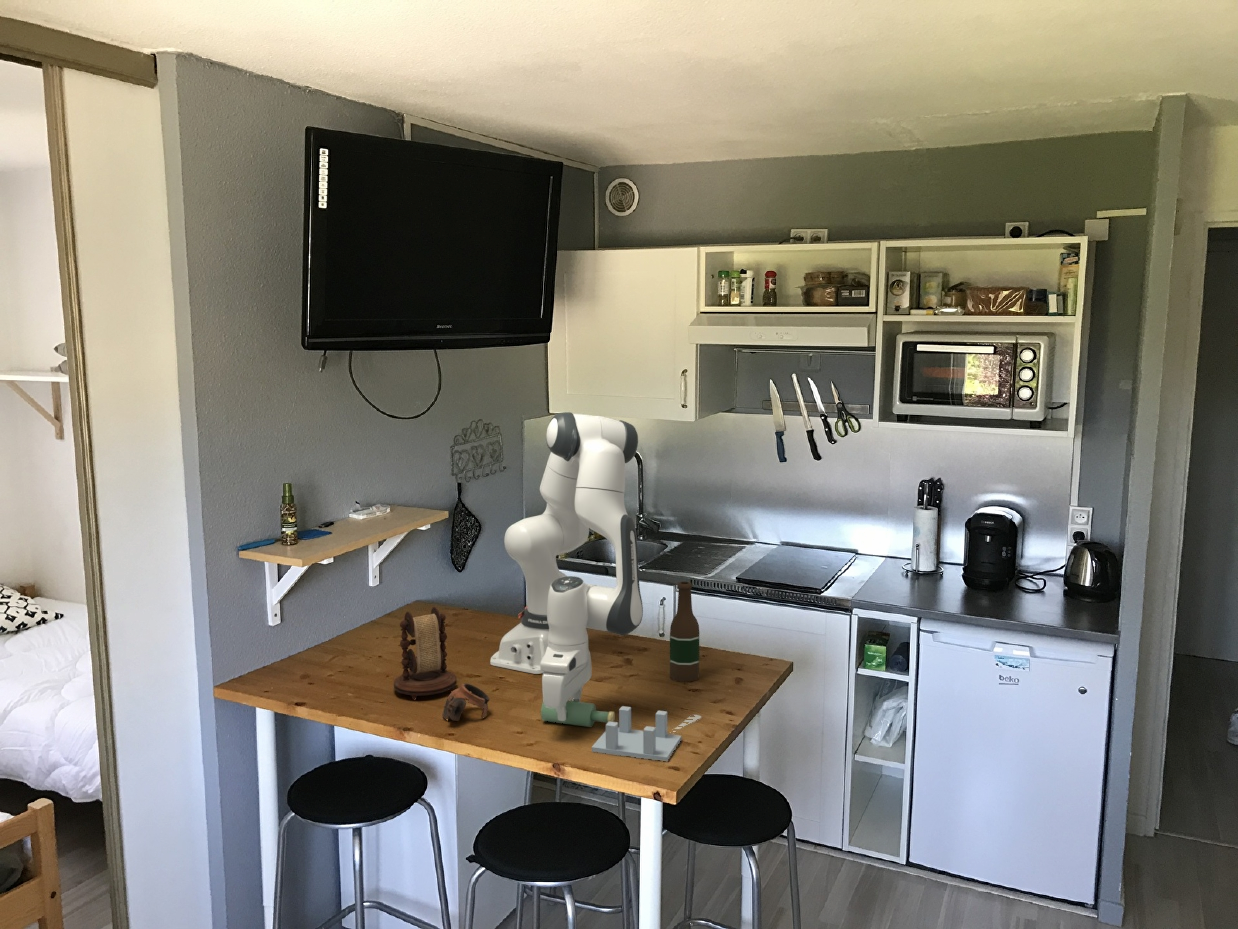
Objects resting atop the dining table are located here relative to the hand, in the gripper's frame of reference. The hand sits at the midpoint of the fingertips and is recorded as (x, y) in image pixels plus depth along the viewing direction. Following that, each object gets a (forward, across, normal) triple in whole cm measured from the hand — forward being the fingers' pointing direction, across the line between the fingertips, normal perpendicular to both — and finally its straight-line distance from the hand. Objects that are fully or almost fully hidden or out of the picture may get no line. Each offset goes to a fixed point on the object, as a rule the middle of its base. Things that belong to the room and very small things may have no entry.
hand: (569, 713), depth 217 cm
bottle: (+2, 0, +2) cm, 3 cm away
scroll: (+2, -8, -40) cm, 41 cm away
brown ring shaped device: (+2, +4, -24) cm, 24 cm away
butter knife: (+3, -1, +23) cm, 23 cm away
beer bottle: (+2, -35, +17) cm, 39 cm away
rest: (+2, +7, +18) cm, 19 cm away
